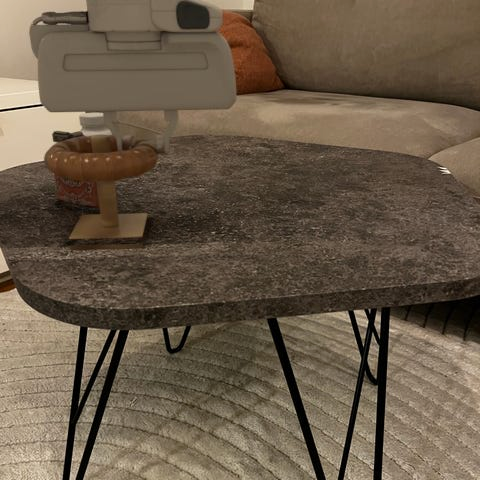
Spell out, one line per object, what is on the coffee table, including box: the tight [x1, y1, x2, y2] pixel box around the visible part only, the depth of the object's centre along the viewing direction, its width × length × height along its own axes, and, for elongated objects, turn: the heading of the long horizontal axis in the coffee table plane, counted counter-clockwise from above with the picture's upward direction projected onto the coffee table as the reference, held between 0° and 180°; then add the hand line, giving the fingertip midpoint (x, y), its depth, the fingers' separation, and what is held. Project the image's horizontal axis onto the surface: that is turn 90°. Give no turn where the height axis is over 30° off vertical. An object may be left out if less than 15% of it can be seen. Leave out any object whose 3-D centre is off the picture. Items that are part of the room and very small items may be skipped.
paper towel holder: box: [68, 134, 148, 251], centre depth 66 cm, size 8×8×12 cm
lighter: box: [51, 130, 99, 207], centre depth 76 cm, size 8×3×10 cm, turn 59°
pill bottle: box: [78, 112, 112, 136], centre depth 88 cm, size 6×5×10 cm
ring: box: [43, 135, 159, 182], centre depth 65 cm, size 12×12×3 cm
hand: (144, 153), depth 65 cm, fingers closed on ring, 3 cm apart
